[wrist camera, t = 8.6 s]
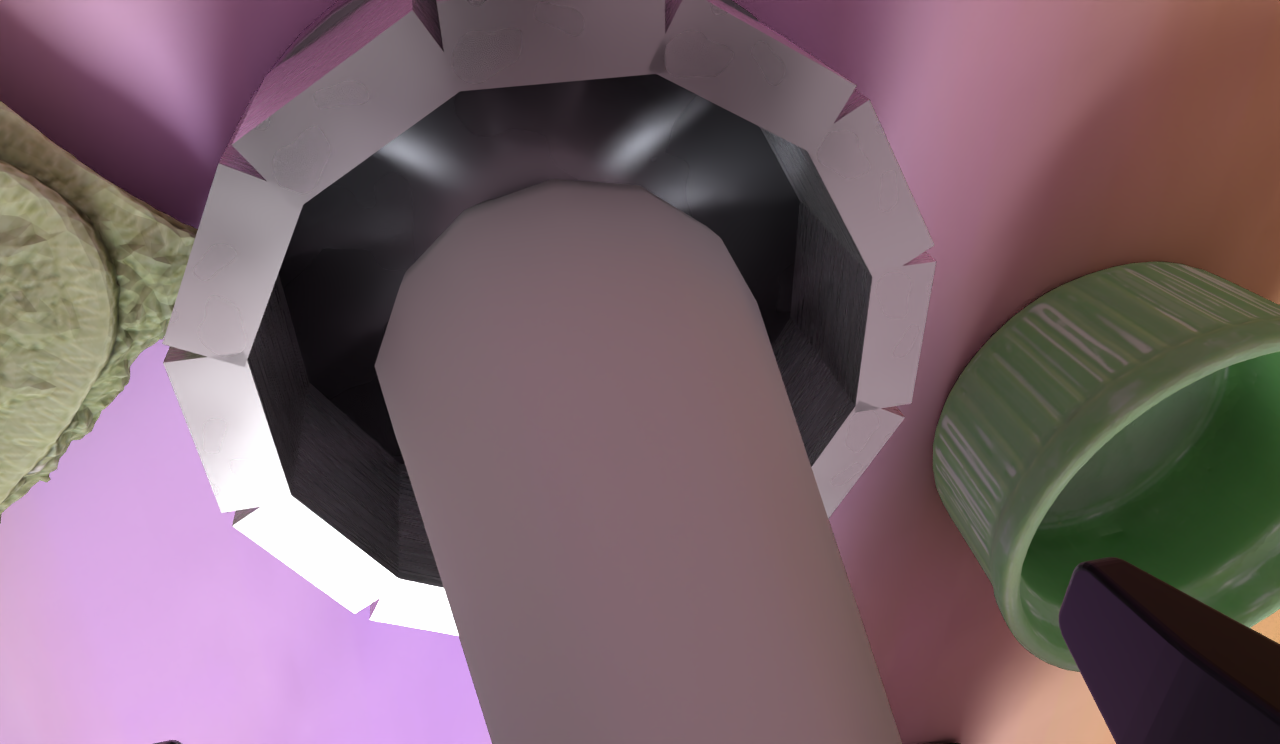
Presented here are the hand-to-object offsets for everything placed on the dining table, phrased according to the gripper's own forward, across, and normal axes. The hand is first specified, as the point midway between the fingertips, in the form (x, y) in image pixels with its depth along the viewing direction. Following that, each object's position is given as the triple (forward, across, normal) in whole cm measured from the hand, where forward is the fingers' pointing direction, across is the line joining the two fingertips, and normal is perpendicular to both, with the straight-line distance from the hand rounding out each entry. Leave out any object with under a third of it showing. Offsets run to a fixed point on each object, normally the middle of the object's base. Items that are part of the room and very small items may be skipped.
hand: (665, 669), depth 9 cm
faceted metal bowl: (+9, 0, 0) cm, 9 cm away
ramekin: (+10, -12, +6) cm, 17 cm away
